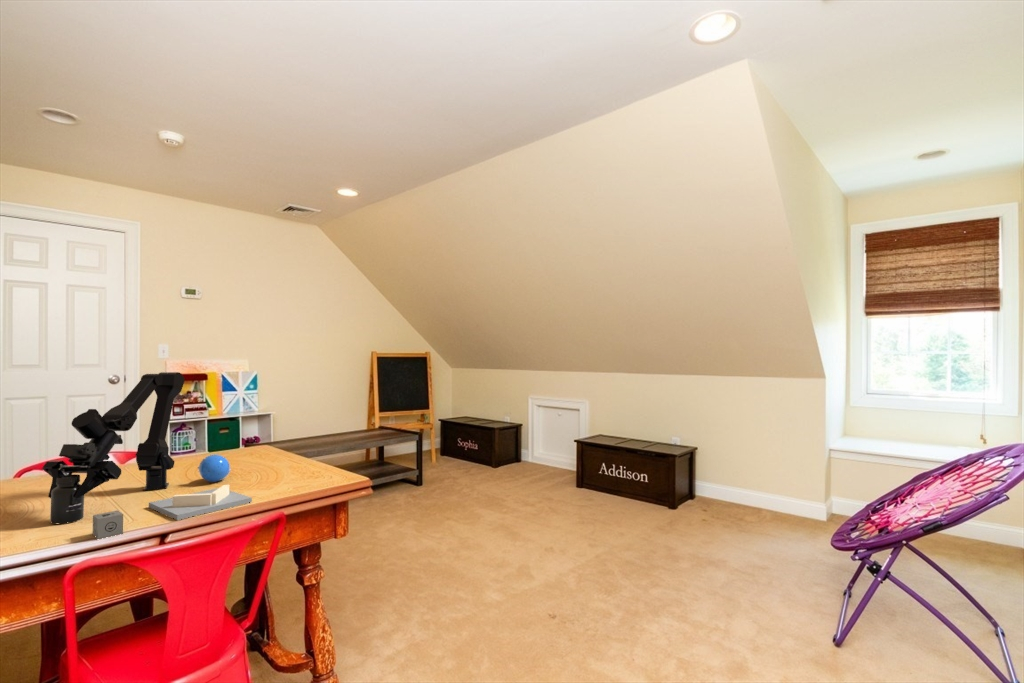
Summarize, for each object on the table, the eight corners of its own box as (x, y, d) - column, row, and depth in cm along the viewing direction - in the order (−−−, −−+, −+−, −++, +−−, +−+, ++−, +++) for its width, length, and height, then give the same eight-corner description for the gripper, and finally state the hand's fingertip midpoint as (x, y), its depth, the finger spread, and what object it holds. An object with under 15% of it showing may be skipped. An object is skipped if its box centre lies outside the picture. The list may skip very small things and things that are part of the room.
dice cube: (92, 535, 126) (92, 515, 126) (117, 529, 130) (117, 510, 130) (97, 540, 123) (98, 519, 123) (123, 534, 127) (123, 514, 127)
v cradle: (148, 507, 148) (148, 492, 148) (220, 492, 164) (220, 478, 165) (177, 520, 137) (177, 503, 137) (251, 502, 153) (251, 487, 153)
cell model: (235, 476, 186) (235, 450, 186) (225, 484, 174) (225, 456, 175) (204, 478, 183) (204, 451, 184) (193, 486, 172) (193, 458, 172)
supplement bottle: (75, 523, 135) (76, 478, 135) (44, 526, 133) (45, 480, 133) (89, 515, 141) (89, 472, 142) (59, 517, 139) (60, 474, 140)
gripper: (48, 431, 142) (7, 481, 130) (113, 431, 141) (78, 481, 130) (73, 454, 149) (36, 503, 138) (135, 454, 149) (103, 503, 138)
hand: (63, 497), depth 136 cm, fingers open, 7 cm apart
